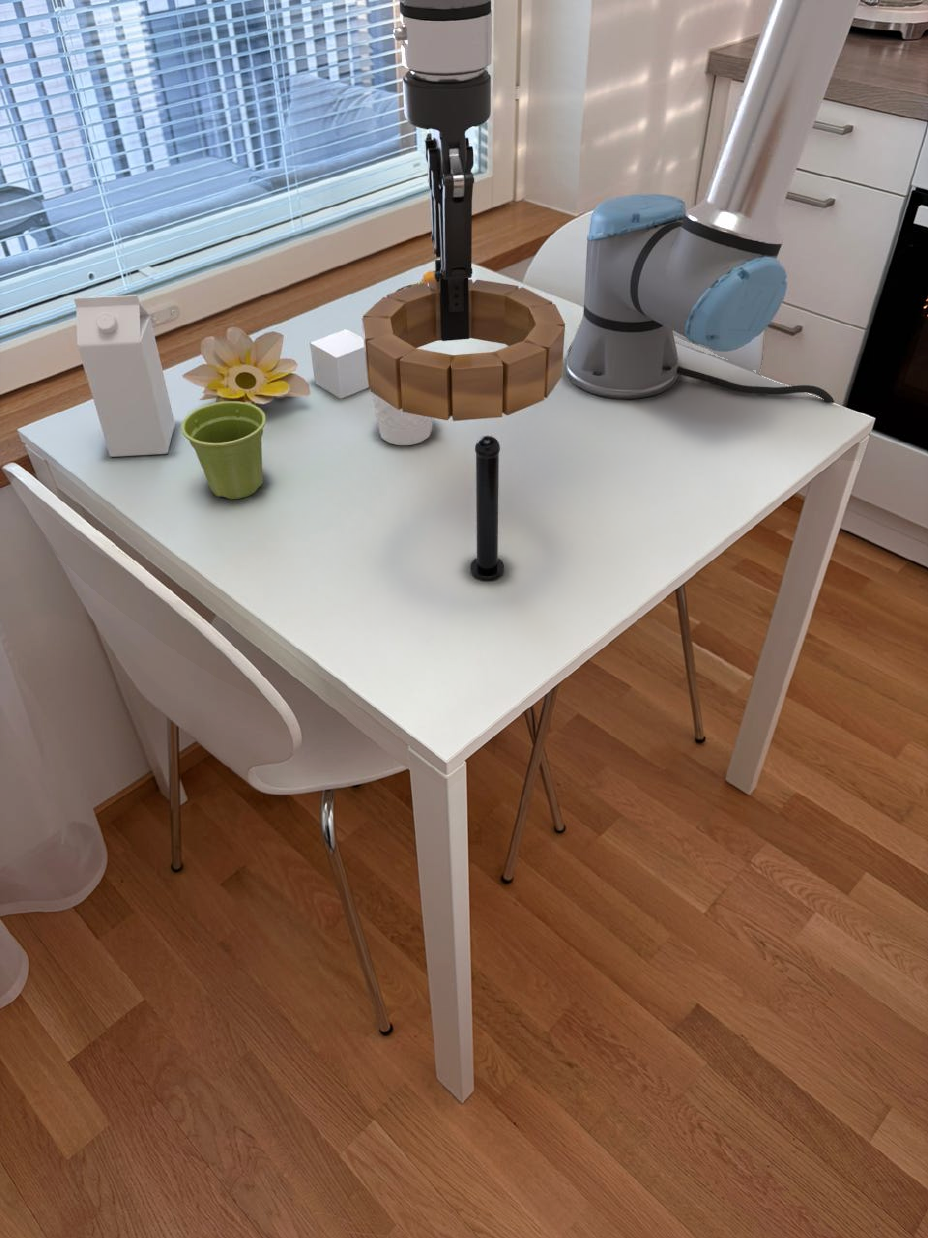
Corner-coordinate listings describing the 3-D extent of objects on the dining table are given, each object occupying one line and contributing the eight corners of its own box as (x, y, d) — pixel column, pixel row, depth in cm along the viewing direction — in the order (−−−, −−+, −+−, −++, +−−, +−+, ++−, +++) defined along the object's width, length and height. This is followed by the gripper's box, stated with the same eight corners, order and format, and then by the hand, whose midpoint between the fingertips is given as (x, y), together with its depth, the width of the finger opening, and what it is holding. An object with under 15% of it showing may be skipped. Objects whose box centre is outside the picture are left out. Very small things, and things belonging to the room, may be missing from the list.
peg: (501, 558, 106) (503, 426, 96) (506, 579, 104) (509, 445, 93) (468, 561, 106) (466, 429, 95) (472, 582, 103) (471, 449, 93)
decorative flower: (204, 432, 123) (189, 350, 119) (183, 412, 132) (168, 336, 128) (317, 410, 129) (307, 332, 124) (290, 392, 138) (279, 319, 133)
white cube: (376, 384, 136) (373, 343, 132) (340, 399, 133) (336, 357, 129) (349, 368, 139) (345, 328, 135) (314, 383, 136) (309, 342, 132)
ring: (538, 321, 102) (540, 274, 98) (578, 410, 88) (582, 359, 85) (361, 334, 100) (357, 286, 96) (374, 427, 86) (370, 375, 83)
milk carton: (120, 428, 128) (80, 285, 115) (175, 425, 128) (142, 282, 116) (110, 458, 123) (67, 311, 110) (168, 454, 123) (132, 308, 110)
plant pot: (209, 517, 113) (194, 452, 107) (186, 477, 119) (171, 413, 113) (287, 495, 116) (276, 430, 110) (261, 456, 122) (250, 393, 117)
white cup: (428, 451, 123) (425, 378, 116) (367, 445, 124) (360, 372, 117) (442, 419, 128) (440, 347, 122) (383, 413, 130) (378, 342, 123)
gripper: (394, 50, 89) (407, 300, 105) (412, 96, 78) (424, 370, 93) (476, 46, 90) (477, 295, 106) (506, 91, 78) (503, 364, 94)
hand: (452, 330), depth 100 cm, fingers closed on ring, 3 cm apart
